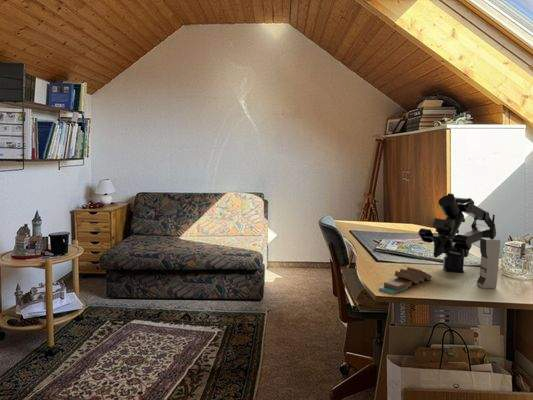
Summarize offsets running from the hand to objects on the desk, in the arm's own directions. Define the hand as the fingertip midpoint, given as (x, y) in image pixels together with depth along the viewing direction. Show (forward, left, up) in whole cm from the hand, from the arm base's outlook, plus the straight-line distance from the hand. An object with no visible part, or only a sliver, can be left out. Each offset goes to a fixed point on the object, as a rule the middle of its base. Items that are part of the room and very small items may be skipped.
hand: (434, 256), depth 157 cm
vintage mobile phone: (-15, +9, -8) cm, 19 cm away
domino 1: (+12, +15, -6) cm, 20 cm away
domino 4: (+7, +7, -7) cm, 12 cm away
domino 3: (+9, +10, -7) cm, 15 cm away
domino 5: (+4, +4, -7) cm, 9 cm away
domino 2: (+13, +16, -7) cm, 22 cm away
